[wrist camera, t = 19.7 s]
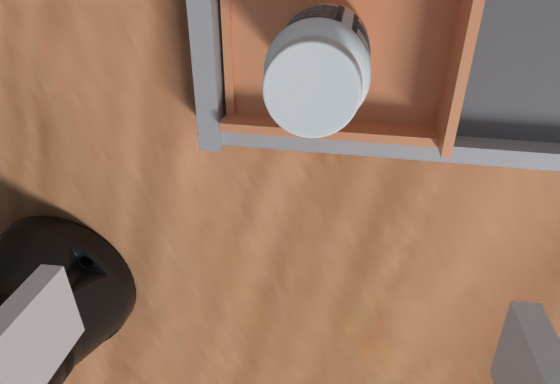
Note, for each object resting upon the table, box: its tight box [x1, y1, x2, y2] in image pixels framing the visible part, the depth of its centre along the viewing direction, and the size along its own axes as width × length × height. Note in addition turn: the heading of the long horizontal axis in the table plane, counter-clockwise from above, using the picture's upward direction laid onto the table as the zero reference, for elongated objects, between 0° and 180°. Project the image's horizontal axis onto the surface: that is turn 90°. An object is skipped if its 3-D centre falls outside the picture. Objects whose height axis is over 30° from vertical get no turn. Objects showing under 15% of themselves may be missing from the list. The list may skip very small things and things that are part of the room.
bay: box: [186, 0, 560, 171], centre depth 29 cm, size 30×15×4 cm, turn 90°
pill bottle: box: [262, 2, 372, 138], centre depth 25 cm, size 6×6×10 cm
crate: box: [219, 0, 485, 158], centre depth 28 cm, size 15×11×4 cm
